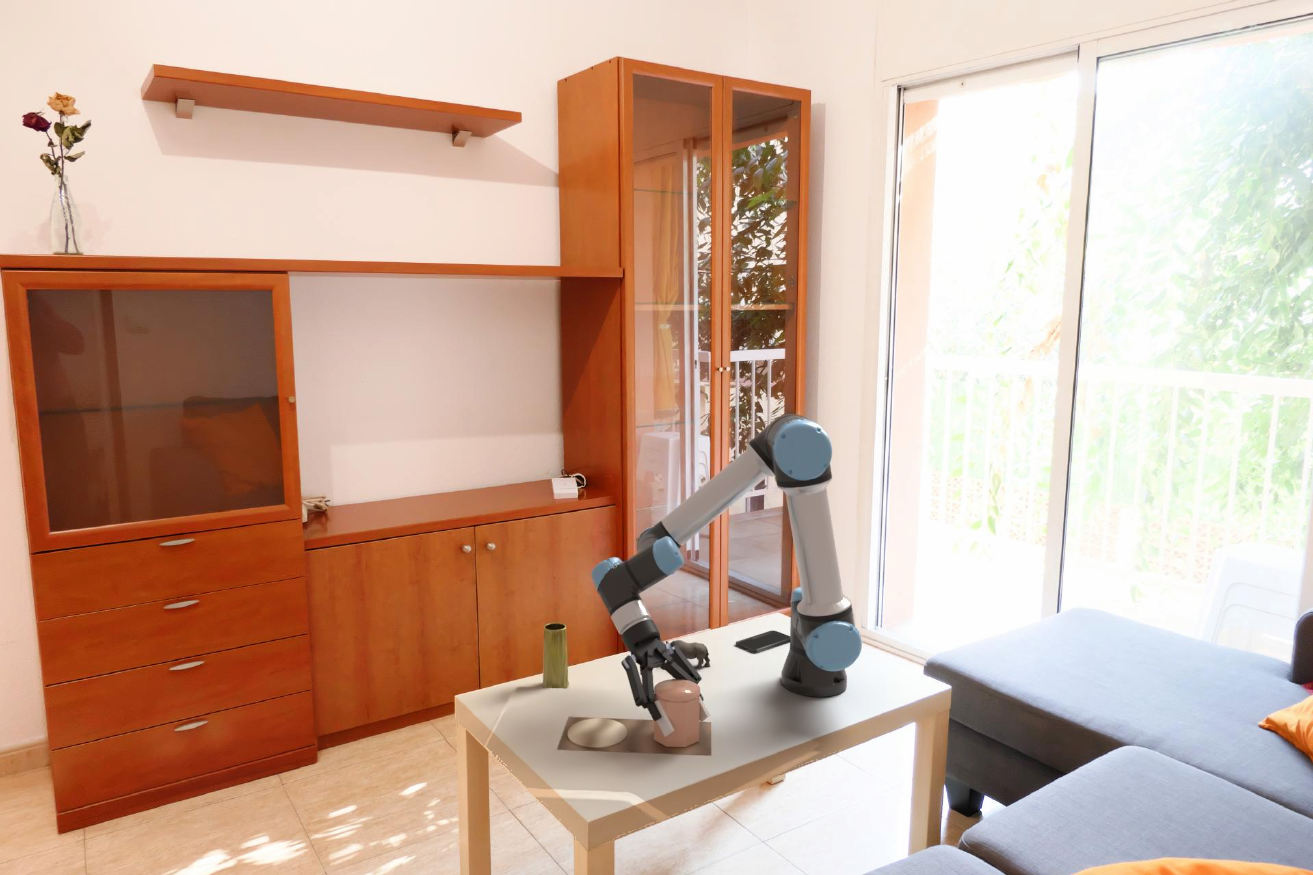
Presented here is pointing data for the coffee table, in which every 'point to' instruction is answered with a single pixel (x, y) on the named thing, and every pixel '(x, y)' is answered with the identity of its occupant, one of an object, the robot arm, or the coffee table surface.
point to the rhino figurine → (694, 652)
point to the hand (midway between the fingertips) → (687, 725)
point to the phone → (763, 641)
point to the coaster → (597, 733)
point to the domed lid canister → (678, 712)
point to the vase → (555, 656)
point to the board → (642, 739)
